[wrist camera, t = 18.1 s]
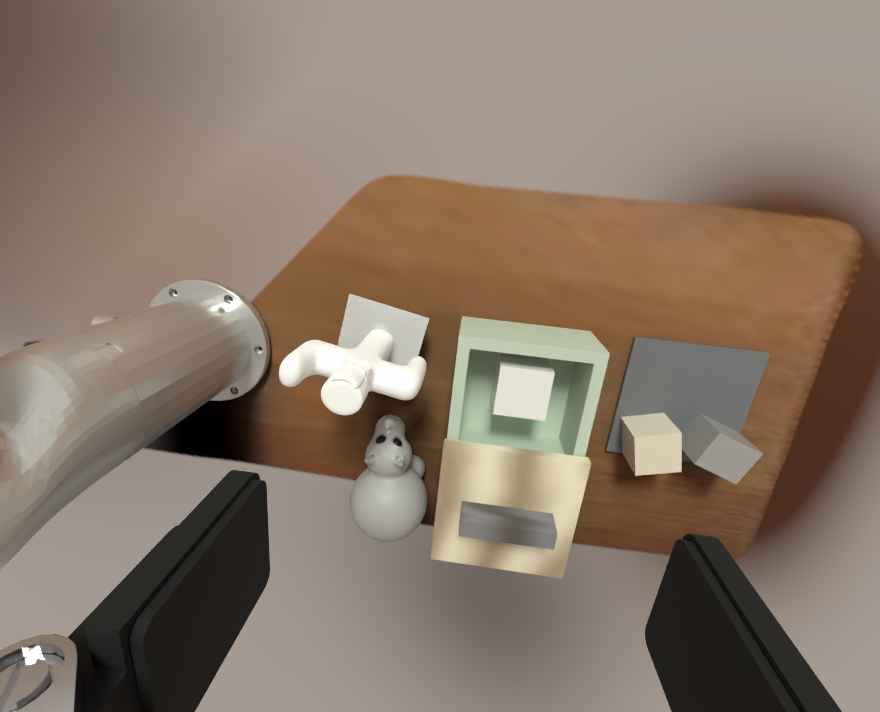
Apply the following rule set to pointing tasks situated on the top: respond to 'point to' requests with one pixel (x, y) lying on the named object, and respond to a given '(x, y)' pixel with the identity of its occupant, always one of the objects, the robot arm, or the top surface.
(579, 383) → the bin
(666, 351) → the mat
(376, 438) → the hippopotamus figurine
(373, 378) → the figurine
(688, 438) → the light grey cube
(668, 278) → the top surface
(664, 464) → the beige cube
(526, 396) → the white stacked cube
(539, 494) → the lid
